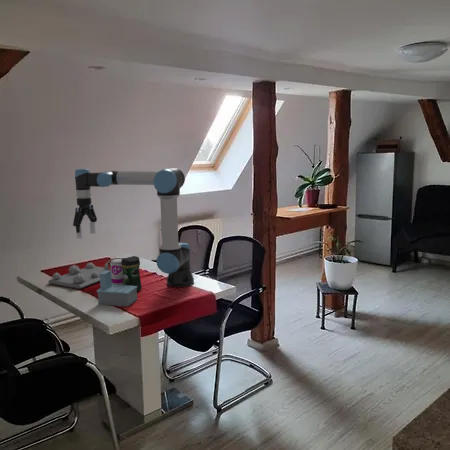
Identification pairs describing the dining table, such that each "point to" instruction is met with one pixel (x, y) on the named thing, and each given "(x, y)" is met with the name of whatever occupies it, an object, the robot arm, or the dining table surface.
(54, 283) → the decorative tray
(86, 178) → the robot arm
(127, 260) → the coffee jar
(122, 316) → the dining table surface
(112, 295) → the tub
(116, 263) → the supplement can
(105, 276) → the pale blue stepped block
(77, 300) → the dining table surface
